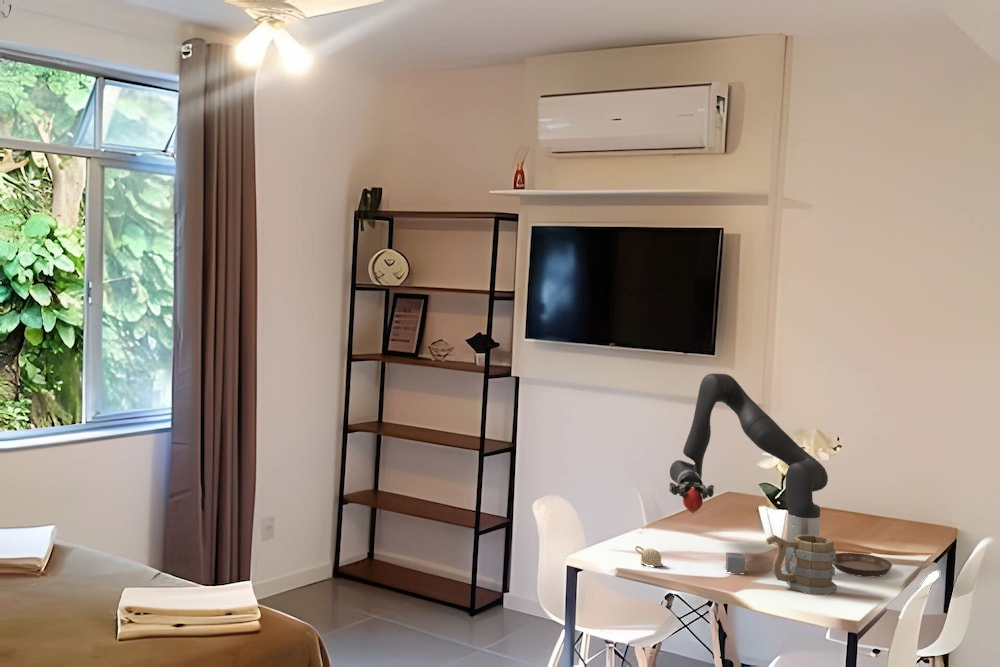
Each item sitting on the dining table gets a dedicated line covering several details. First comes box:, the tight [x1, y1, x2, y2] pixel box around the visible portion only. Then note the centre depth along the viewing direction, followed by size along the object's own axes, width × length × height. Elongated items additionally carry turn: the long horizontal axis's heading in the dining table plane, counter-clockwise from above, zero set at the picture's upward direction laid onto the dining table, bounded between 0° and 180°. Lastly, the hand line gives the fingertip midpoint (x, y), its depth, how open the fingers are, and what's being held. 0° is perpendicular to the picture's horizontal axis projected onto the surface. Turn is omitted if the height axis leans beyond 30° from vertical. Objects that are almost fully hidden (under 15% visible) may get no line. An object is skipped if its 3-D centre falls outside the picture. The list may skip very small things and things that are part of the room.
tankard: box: [765, 534, 838, 595], centre depth 278 cm, size 20×13×15 cm, turn 92°
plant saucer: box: [833, 552, 893, 577], centre depth 298 cm, size 18×18×3 cm
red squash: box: [682, 487, 704, 514], centre depth 298 cm, size 6×6×8 cm
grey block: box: [725, 552, 746, 573], centre depth 292 cm, size 5×5×5 cm
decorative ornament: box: [634, 545, 664, 567], centre depth 296 cm, size 4×8×5 cm, turn 62°
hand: (694, 495), depth 295 cm, fingers closed on red squash, 5 cm apart
